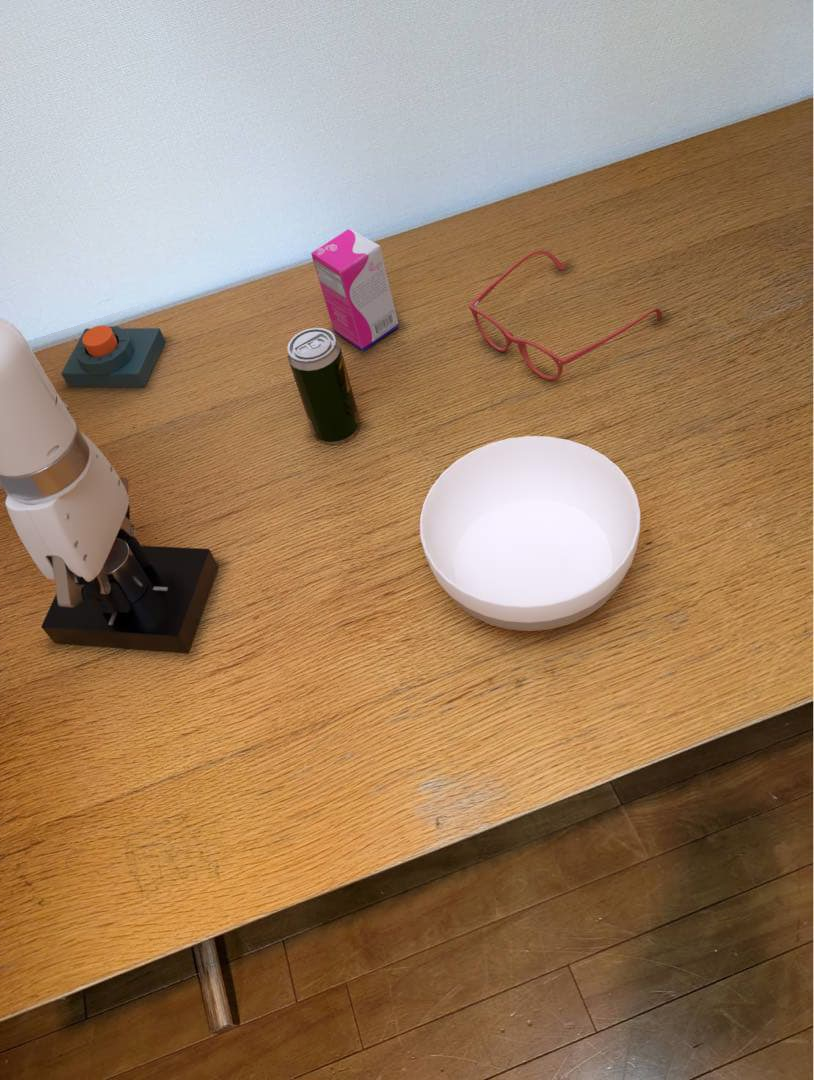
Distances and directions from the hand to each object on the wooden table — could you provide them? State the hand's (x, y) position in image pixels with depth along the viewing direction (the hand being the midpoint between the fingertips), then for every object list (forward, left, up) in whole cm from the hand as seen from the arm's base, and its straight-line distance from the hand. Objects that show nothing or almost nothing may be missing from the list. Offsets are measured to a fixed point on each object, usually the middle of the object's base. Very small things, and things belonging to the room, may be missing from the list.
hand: (124, 585), depth 94 cm
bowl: (+38, +6, -4) cm, 39 cm away
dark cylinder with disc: (0, 0, 0) cm, 0 cm away
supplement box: (+15, +40, -4) cm, 43 cm away
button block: (-15, +34, -3) cm, 37 cm away
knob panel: (0, 0, -3) cm, 3 cm away
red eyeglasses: (+38, +40, -4) cm, 55 cm away
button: (-15, +33, 0) cm, 36 cm away
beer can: (+15, +24, -4) cm, 29 cm away
